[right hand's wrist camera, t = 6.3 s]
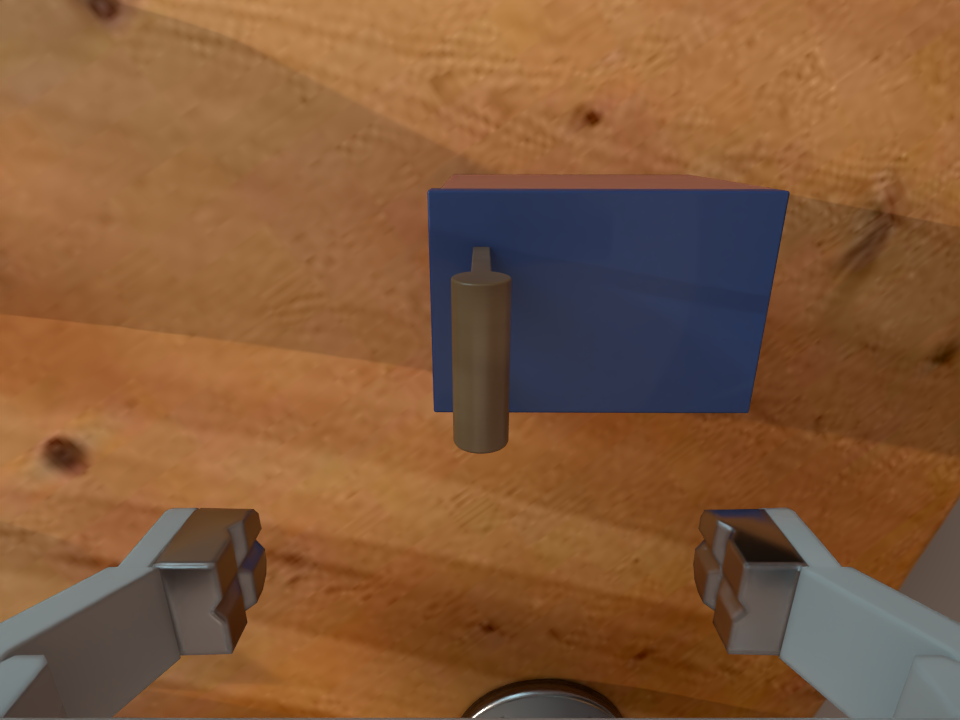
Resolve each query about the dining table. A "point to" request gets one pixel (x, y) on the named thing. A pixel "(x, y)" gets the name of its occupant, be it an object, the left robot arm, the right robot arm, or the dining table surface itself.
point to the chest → (592, 182)
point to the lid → (597, 301)
